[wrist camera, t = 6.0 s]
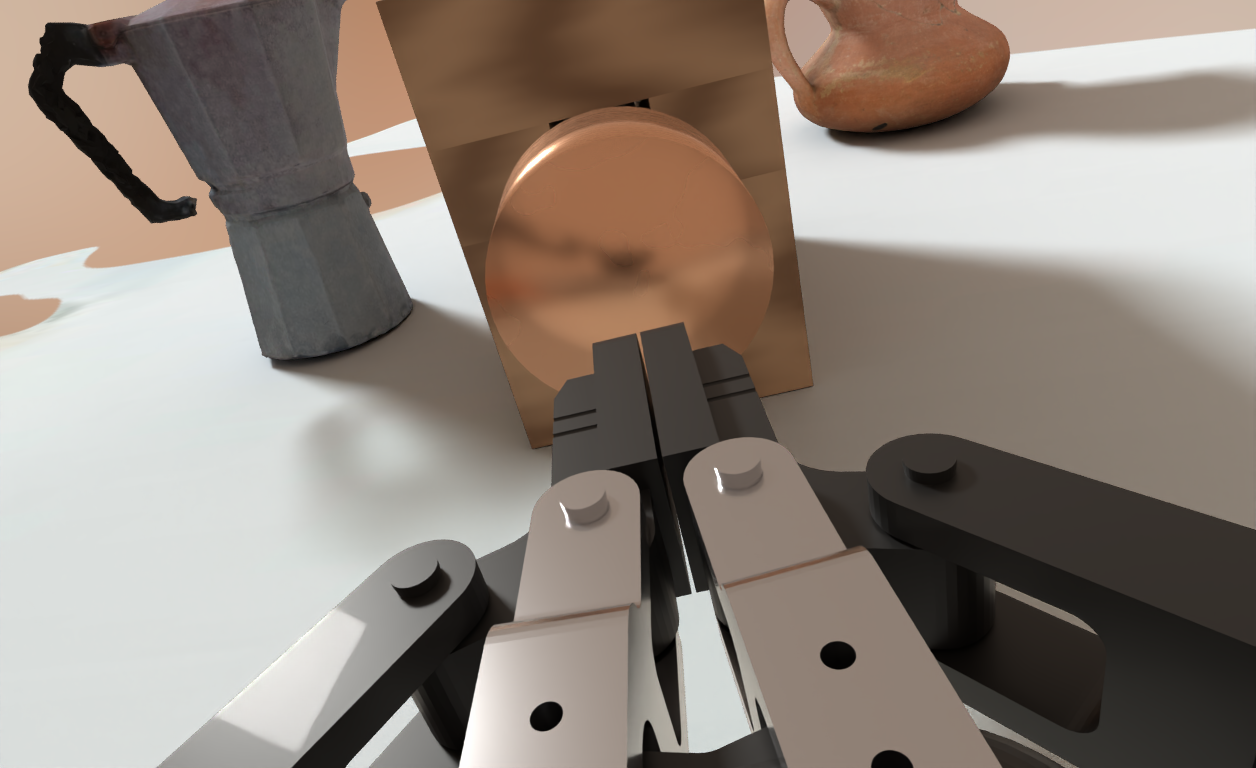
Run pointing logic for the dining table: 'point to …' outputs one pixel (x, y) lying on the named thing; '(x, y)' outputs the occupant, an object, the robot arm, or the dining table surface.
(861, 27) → the ceramic jug
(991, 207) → the dining table surface
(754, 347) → the press housing
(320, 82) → the moka pot
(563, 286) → the plunger
